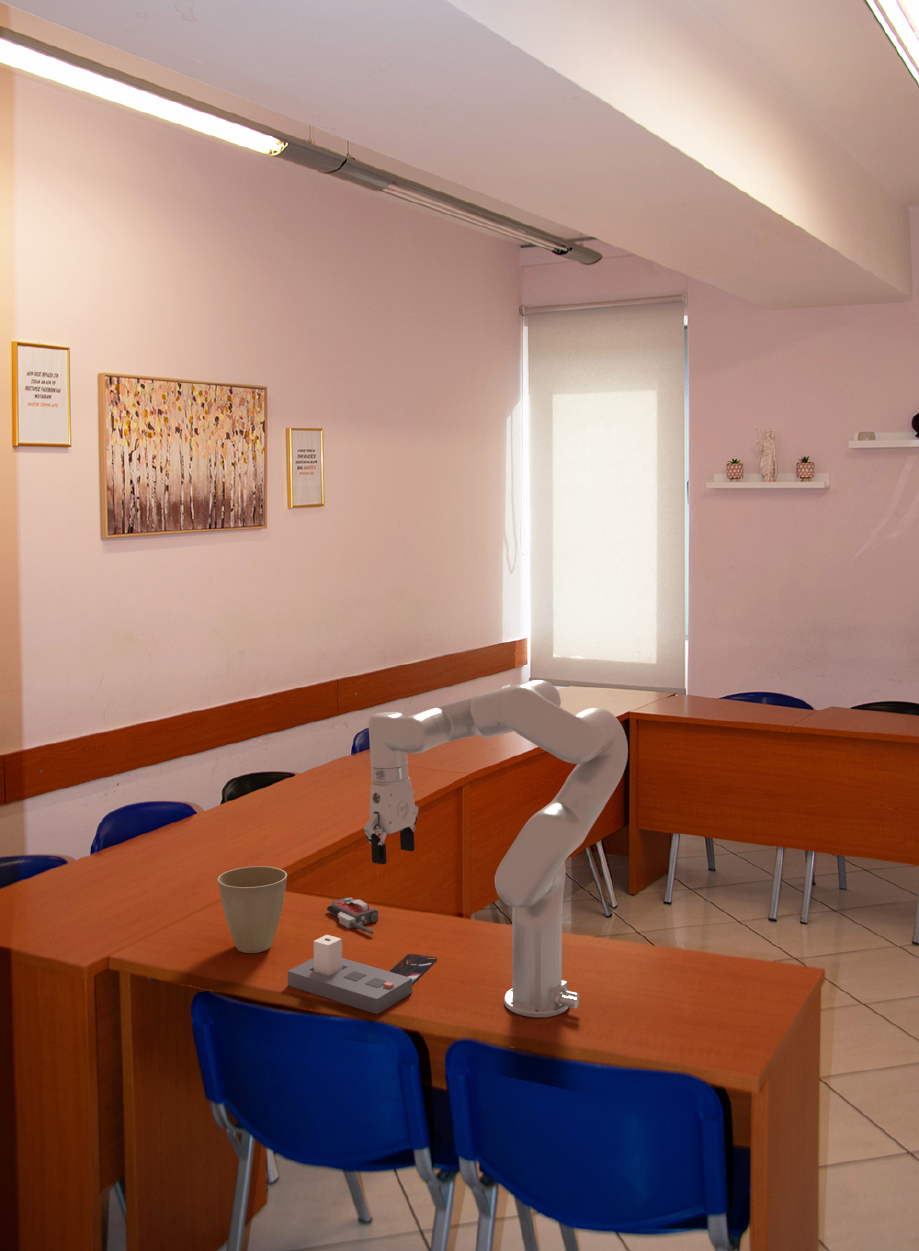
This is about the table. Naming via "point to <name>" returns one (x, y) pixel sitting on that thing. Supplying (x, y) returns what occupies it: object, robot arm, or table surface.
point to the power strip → (353, 985)
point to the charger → (328, 955)
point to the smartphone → (413, 966)
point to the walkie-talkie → (353, 913)
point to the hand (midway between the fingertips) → (393, 856)
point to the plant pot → (253, 905)
